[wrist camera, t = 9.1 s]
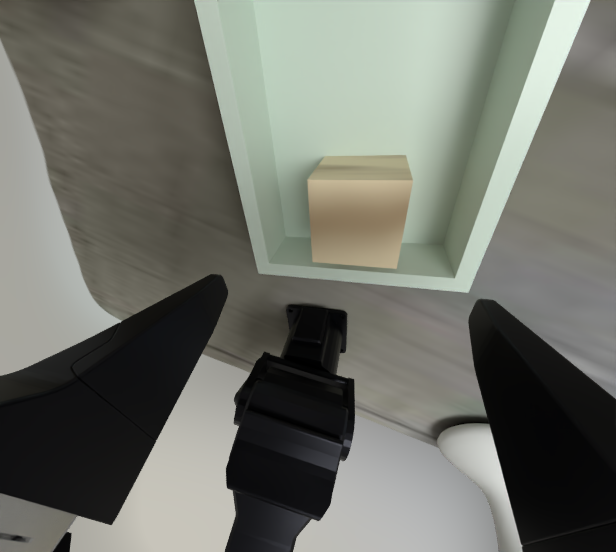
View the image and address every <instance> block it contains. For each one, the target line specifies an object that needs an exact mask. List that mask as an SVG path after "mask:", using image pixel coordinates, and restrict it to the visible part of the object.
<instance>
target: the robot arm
mask: <svg viewBox="0 0 616 552" xmlns="http://www.w3.org/2000/svg"><path fill="white" fill-rule="evenodd" d="M227 296H228V289H227V286H226V284H225V281H224V279H223V277H222V276H221V275H217V274H211V275H209V276H207V277H205V278H203V279H201V280H199V281H197V282H195V283H193V284H192V285H190V286H188V287H186V288H184V289H182V290H180V291H178V292H176V293H174V294H173V295H171V296H169V297H167V298H165V299H163V300H161V301H159V302H157V303H156V304H154V305H152V306H150V307H148V308H146V309H144V310H142V311H140V312H139V313H137V314H135V315H133V316H131V317H129V318H127V319H125V320H123V321H122V322H121V323H118V324H116V325H114V326H112V327H110V328H108V329H106V330H104V331H102V332H100V333H99V334H97V335H95V336H93V337H91V338H89V339H86V340H85V341H83V342H80V343H78V344H76V345H74V346H72V347H70V348H68V349H65V350H63V351H61V352H59V353H57V354H55V355H53V356H50V357H48V358H46V359H44V360H42V361H40V362H38V363H36V364H33V365H31V366H29V367H27V368H24V369H22V370H19V371H16V372H13V373H10V374H7V375H3V376H0V552H70V543H71V533H69V532H67V530H68V529H69V528H70V526H71V525H72V523H73V522H74V520H75V519H76V517H77V516H81V517H85V518H88V519H91V520H95V521H99V522H102V523H105V524H109V525H112V524H113V522H114V520H115V519H116V517H117V515H118V513H119V512H120V510H121V508H122V506H123V504H124V502H125V500H126V498H127V496H128V494H129V492H130V490H131V489H132V487H133V485H134V483H135V481H136V479H137V477H138V475H139V473H140V471H141V469H142V467H143V466H144V463H145V462H146V460H147V458H148V456H149V454H150V452H151V450H152V448H153V446H154V444H155V442H156V440H157V438H158V436H159V435H160V433H161V431H162V429H163V427H164V425H165V423H166V421H167V419H168V417H169V415H170V413H171V412H172V410H173V408H174V406H175V404H176V402H177V400H178V398H179V396H180V394H181V392H182V390H183V389H184V387H185V385H186V383H187V381H188V379H189V377H190V375H191V373H192V371H193V369H194V367H195V365H196V363H197V362H198V360H199V358H200V356H201V354H202V352H203V350H204V348H205V346H206V344H207V343H208V341H209V339H210V337H211V335H212V333H213V331H214V329H215V326H216V324H217V322H218V319H219V317H220V314H221V312H222V309H223V306H224V304H225V301H226V299H227ZM286 311H287V317H288V323H289V329H290V332H289V335H288V338H287V340H286V343H285V346H284V348H283V351H282V354H281V356H280V357H277V356H273V355H270V353H267V352H264V353H263V355H262V357H261V358H259V359H258V360H257V361H256V363H255V365H254V368H253V370H252V372H251V373H250V375H249V377H248V379H247V380H246V381H245V383H244V384H243V385H242V387H241V388H240V389H239V391H238V392H237V393H236V395H235V398H234V402H235V405H236V411H235V417H234V424H235V425H237V426H239V428H238V431H237V434H236V437H235V440H234V444H233V447H232V450H231V453H230V456H229V461H228V464H227V467H226V481H227V482H226V483H227V488H228V489H230V490H233V496H234V503H235V511H236V517H235V520H234V524H233V527H232V530H231V533H230V536H229V539H228V542H227V546H226V549H225V552H293V549H294V545H295V541H296V538H297V536H298V535H299V533H300V532H301V531H302V530H303V529H304V528H305V526H306V525H307V524H308V523H309V522H310V520H311V519H314V520H317V521H319V520H320V519H321V518H322V517H323V515H324V514H325V512H326V511H327V509H328V508H329V506H330V503H331V498H332V492H333V488H334V484H335V480H336V474H337V470H338V466H339V461H340V460H342V461H345V460H346V458H347V456H348V454H349V451H350V447H351V443H352V438H353V432H354V423H355V397H354V379H351V378H345V377H342V376H338V375H336V373H337V367H338V361H339V355H340V353H345V352H346V340H347V313H346V312H344V311H338V310H330V309H321V308H313V307H304V306H296V305H289V306H288V307H287V309H286ZM468 323H469V331H470V339H471V346H472V354H473V361H474V368H475V372H476V376H477V380H478V384H479V387H480V391H481V395H482V399H483V402H484V406H485V410H486V414H487V418H488V421H489V425H490V429H491V433H492V437H493V440H494V444H495V448H496V452H497V455H498V459H499V463H500V467H501V471H502V474H503V478H504V482H505V486H506V490H507V493H508V497H509V501H510V505H511V508H512V512H513V516H514V520H515V524H516V527H517V531H518V535H519V539H520V543H521V545H522V551H523V552H616V399H615V398H614V397H613V396H611V395H610V394H609V393H608V392H606V391H605V390H604V389H603V388H601V387H600V386H599V385H598V384H597V383H595V382H594V381H593V380H592V379H590V378H589V377H588V376H587V375H585V374H584V373H583V372H582V371H581V370H579V369H578V368H577V367H576V366H574V365H573V364H572V363H571V362H570V361H568V360H567V359H566V358H565V357H563V356H562V355H561V354H560V353H558V352H557V351H556V350H555V349H554V348H552V347H551V346H550V345H549V344H547V343H546V342H545V341H544V340H542V339H541V338H540V337H539V336H538V335H536V334H535V333H534V332H533V331H531V330H530V329H529V328H528V327H526V326H525V325H524V324H523V323H522V322H520V321H519V320H518V319H517V318H515V317H514V316H513V315H512V314H510V313H509V312H508V311H507V310H506V309H504V308H503V307H502V306H501V305H499V304H498V303H497V302H496V301H494V300H489V299H478V300H477V301H476V303H475V305H474V307H473V309H472V312H471V314H470V316H469V322H468Z"/></svg>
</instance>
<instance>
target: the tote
mask: <svg viewBox="0 0 616 552" xmlns="http://www.w3.org/2000/svg"><path fill="white" fill-rule="evenodd" d="M194 2H195V6H196V10H197V14H198V19H199V23H200V27H201V31H202V36H203V40H204V44H205V48H206V53H207V57H208V61H209V65H210V70H211V74H212V78H213V82H214V87H215V91H216V95H217V99H218V104H219V108H220V112H221V116H222V121H223V125H224V129H225V133H226V138H227V142H228V146H229V150H230V155H231V159H232V163H233V167H234V172H235V176H236V180H237V184H238V189H239V193H240V197H241V201H242V206H243V210H244V214H245V218H246V223H247V227H248V231H249V235H250V240H251V244H252V248H253V252H254V257H255V261H256V265H257V269H258V274H269V275H280V276H291V277H302V278H313V279H324V280H335V281H346V282H357V283H368V284H379V285H390V286H401V287H412V288H423V289H434V290H445V291H456V292H467V293H468V292H469V290H470V287H471V285H472V282H473V280H474V278H475V275H476V273H477V271H478V268H479V266H480V263H481V261H482V259H483V256H484V254H485V251H486V249H487V247H488V244H489V242H490V239H491V237H492V235H493V232H494V230H495V227H496V225H497V223H498V220H499V218H500V215H501V213H502V211H503V208H504V206H505V204H506V201H507V199H508V196H509V194H510V192H511V189H512V187H513V184H514V182H515V180H516V177H517V175H518V172H519V170H520V168H521V165H522V163H523V160H524V158H525V156H526V153H527V151H528V148H529V146H530V144H531V141H532V139H533V137H534V134H535V132H536V129H537V127H538V125H539V122H540V120H541V117H542V115H543V113H544V110H545V108H546V105H547V103H548V101H549V98H550V96H551V93H552V91H553V89H554V86H555V84H556V81H557V79H558V77H559V74H560V72H561V70H562V67H563V65H564V62H565V60H566V58H567V55H568V53H569V50H570V48H571V46H572V43H573V41H574V38H575V36H576V34H577V31H578V29H579V26H580V24H581V22H582V19H583V17H584V14H585V12H586V10H587V7H588V5H589V3H590V0H194ZM375 155H406V157H407V161H408V164H409V168H410V171H411V175H412V178H413V184H412V189H411V195H410V200H409V206H408V211H407V216H406V222H405V227H404V232H403V238H402V243H401V249H400V254H399V259H398V265H397V269H391V268H379V267H366V266H354V265H342V264H330V263H317V262H312V247H311V231H310V215H309V199H308V183H307V179H308V178H309V177H310V176H311V174H312V173H313V172H314V170H315V169H316V168H317V166H318V165H319V164H320V162H321V161H322V160H323V158H324V157H325V156H375Z"/></svg>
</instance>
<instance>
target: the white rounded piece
mask: <svg viewBox="0 0 616 552" xmlns="http://www.w3.org/2000/svg"><path fill="white" fill-rule="evenodd" d="M437 445H438V447H439V449H440V451H441V453H442V454H443V456H444V457H446V458H447V460H448V461H449V462H450V463H451V464H452V465H454V466H455V467H456V468H457V469H458V470H459V471H461V472H462V473H463V474H464V475H466V476H467V477H468V478H469V479H471V480H472V481H473V482H474V483H475V484H476V485H477V486H478V487H479V488H480V489H481V490H482V491H483V493H484V494H485V496H486V498H487V500H488V503H489V505H490V508H491V512H492V515H493V519H494V524H495V529H496V534H497V541H498V551H499V552H523V551H522V545H521V543H520V539H519V535H518V531H517V527H516V524H515V520H514V516H513V512H512V508H511V505H510V501H509V497H508V493H507V490H506V486H505V482H504V478H503V474H502V471H501V467H500V463H499V459H498V455H497V452H496V448H495V444H494V440H493V437H492V433H491V429H490V425H489V424H482V423H471V424H462V425H457V426H453V427H450V428H448V429H446V430H444V431H443V432H442V433H441V434H440V436H439V438H438V440H437Z"/></svg>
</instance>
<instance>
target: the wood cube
mask: <svg viewBox="0 0 616 552" xmlns="http://www.w3.org/2000/svg"><path fill="white" fill-rule="evenodd" d="M307 183H308V199H309V215H310V231H311V247H312V262H317V263H330V264H342V265H354V266H366V267H379V268H391V269H397V265H398V259H399V254H400V249H401V243H402V238H403V232H404V227H405V222H406V216H407V211H408V206H409V200H410V195H411V189H412V184H413V178H412V175H411V171H410V168H409V164H408V161H407V157H406V155H375V156H325V157H324V158H323V160H322V161H321V162H320V164H319V165H318V166H317V168H316V169H315V170H314V172H313V173H312V174H311V176H310V177H309V178H308V179H307Z"/></svg>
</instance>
